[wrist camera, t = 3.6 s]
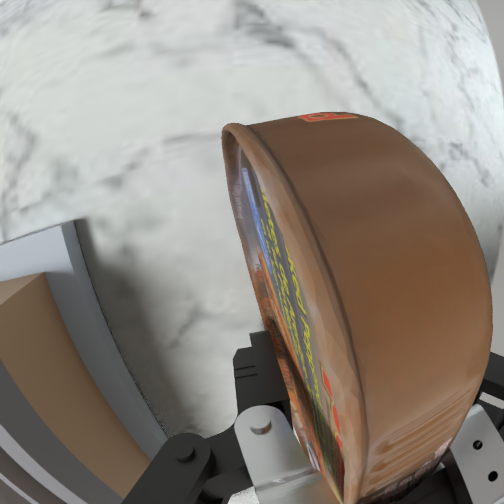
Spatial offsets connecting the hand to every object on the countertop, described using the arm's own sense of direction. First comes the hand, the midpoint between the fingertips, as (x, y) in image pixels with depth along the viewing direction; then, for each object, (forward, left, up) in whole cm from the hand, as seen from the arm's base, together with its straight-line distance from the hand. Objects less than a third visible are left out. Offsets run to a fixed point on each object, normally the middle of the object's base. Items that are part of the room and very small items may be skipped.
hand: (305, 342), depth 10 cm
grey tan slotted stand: (+6, -14, -1) cm, 15 cm away
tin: (0, 0, -1) cm, 1 cm away
